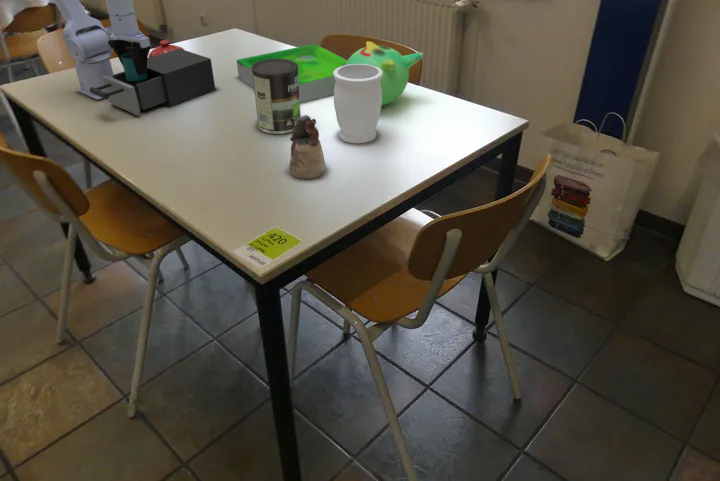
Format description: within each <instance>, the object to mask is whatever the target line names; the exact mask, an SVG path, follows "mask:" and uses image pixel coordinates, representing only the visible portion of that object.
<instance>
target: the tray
mask: <svg viewBox="0 0 720 481" xmlns="http://www.w3.org/2000/svg"><path fill="white" fill-rule="evenodd" d="M268 59H286V60H291V61H294V62H296V63H297V64H298V81H299V99H300V104H302V103H306V102H310V101H314V100H317V99H321V98H325V97H329V96H334V87H335V82H336V80H335V78H334V76H333V72H334V70H335V69H336V68H338V67H341V66H344V65H345V64H346V62H347V61H348V59H345V58H343V57H342V56H340V55H337V54H336V53H334V52H332V51H330V50H328V49H326V48H325V47H322V46H320V45H318V44H316V43H312V44H308V45H302V46H298V47H293V48H288V49H283V50H278V51H274V52H269V53H268V52H267V53H263V54H257V55H254V56H249V57H248V56H247V57H244V58H238V59H236V67H237V74H238V75H237V76H238V78H239V79H240V80H242V81H243V82H244V83H245V84H247V85H249V86H250V88H252V89H254V82H253V72H252V69H251V67H252V65H253V64H255V63H257V62H259V61H262V60H268Z"/></svg>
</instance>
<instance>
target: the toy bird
mask: <svg viewBox="0 0 720 481" xmlns="http://www.w3.org/2000/svg"><path fill="white" fill-rule="evenodd" d="M423 57H424V53H423V52H414V53H409V54H406V55H402V54H401V53H400V52H399V51H398V50H396V49H394V48H392V47H390V46H386V45H379V44H378V45H377V44H376V43H375V42H373V41H371V40H367V41H366V42H365V47H362V48H359V49H358V50H356V51H355V52H354V53H353V54H351V55H350V56H349V57H348V59H347V62H346V64H345V65H350V64H366V65H372V66H375V67H378V68H379V69H381V70H382V74H383V76H382V78H381V80H380V82H381V88H382V105H381V107H382V106H386V105H388V104H391V103H392V102H394V101H395V100H396V99H398V98H399V97H400V96H401V95H402V94H403V92H404V91H405V89H406V88H407V85H408V82H409V79H410V69H411V67H413V66H414V65H416V63H418V62H419V61H420V60H422V58H423Z"/></svg>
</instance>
